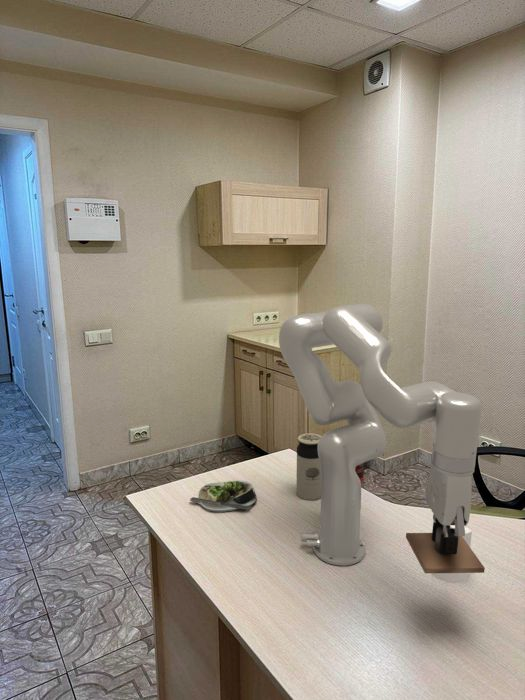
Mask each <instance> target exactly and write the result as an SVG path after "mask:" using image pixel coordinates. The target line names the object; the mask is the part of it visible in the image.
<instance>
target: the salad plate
mask: <svg viewBox="0 0 525 700" xmlns="http://www.w3.org/2000/svg"><path fill="white" fill-rule="evenodd" d="M198 494H199V497H194V496H193V497H190V499H189V501H190V502H192V503H196V504H199V505H200V506H201V507H202V508H204V509H206V510H208V511H211V512H217V513H222V512H223V513H225V512H238V511H246V510H250V509H252V507H253V506H254V505H255V504H256V503H257V501H258V499H257V494H256V491H255V488H254V486H253V484H252V483H251V482H248V481H247V480H229V481H222V482H220V481H219V482H210V483H207V484H205V485H203V486H202V487H201V488H200V489H199V493H198Z"/></svg>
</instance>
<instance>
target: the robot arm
mask: <svg viewBox="0 0 525 700" xmlns="http://www.w3.org/2000/svg"><path fill="white" fill-rule="evenodd" d="M382 329H383V318H382V315H381V313H380V311H379V310H378V309H377V308H376V307H374V306H373V305H371V304H367V303H356V304H347V305H339V306H335V307H333V308H330V309H329V310H328V311H322V312H321V311H320V312H311V313H302V314H297V315H293V316H291V317H289V318H288V319H286V320H285V321H284V322H283V323H282V324H281V326H280V327H279V332H278V333H279V334H278V345H279V349H280V353H281V356H282V357H283V360H284V361H285V363H286V364H287V366H288V368H289V370H290V371H291V373H292V374H293V377H294V378H295V382H296V383H297V384H296V385H297V386H298V390H299V392H300V394H301V397H302V399H303V401H304V404H305V406H306V409H307V412H308V414H309V416H310V418H311V419H312V421H313V422H314V423H315V424H317V425H318V426H328V425H332V424H336V423H340V422H343V421H347V423H348V424H346V425H342V426H338V427H336V428H332V429H330V430H329V431H327V432H325V433H323V435H321V436H322V437H321V438H320V440H319V442H318V456H319V461H320V468H321V497H320V516H319V517H320V522H319V523H320V524H319V527H317V530H316V531H313V533H308V532H303V533H300V540H301V542H306V545H307V546H306V547H312V548H313V552H314V554H315V555H316V556H317V557H318V558H319V559H320V560H322V561H323V562H325V563H328V564H330V565H335V566H343V567H344V566H352V565H354V564H355V565H356V564H358V563H359V562H361V561H362V560H363V559H364V557H365V556H366V546H365V543H364V542H363V541H362V540H361V539H360V534H361V533H360V529H361V528H360V527H361V511H362V510H361V507H362V506H361V505H362V484H361V482H360V479H359V477H358V475H357V474H356V472H355V467H356V466H357V465H360V464H362V463H364V464H365V463H366V462H367V463H368V462H370V461H372V460H375V459H377V458H379V457H381V456H382V455H383V454H384V453H385V451H386V449H387V436H386V433H385V430H384V427H383V425H382V422H381V421H380V418H379V416H378V414H379V415H380V416H381V417H382V419H384V420H385V421H387V423H389V424H390V425H392V426H394V427H396V428H397V429H398V428H399V429H410V428H414V427H417V426H420V425H424V424H426V423H432V422H433V423H434V431H433V440H432V441H433V442H432V443H433V444H432V453H431V462H430V467H429V472H428V477H427V484H426V490H425V491H426V492H425V501H426V503H427V505H428V507H429V509H430V510H431V512H432V519H433V523H432V532H431V533H432V540H433V542H435V540H436V530H437V528H438V527H443V534H441V538H440V547H439V552H440V554H442V555H447V554H456V553H457V547H458V538H459V537H460V536H465V528H464V526H465V527H467V526H468V523H469V521H470V516H471V510H472V509H471V507H472V492H473V491H472V489H473V487H472V486H473V485H472V484H473V481H472V474H474V473H475V468H476V459H477V451H478V450H477V449H478V443H479V435H480V426H481V419H482V418H481V417H482V411H483V409H482V403H481V400H480V399H479V398H477V397H476V396H474V395H472V394H469V393H464V392H460V391H459V392H458V391H455V390H454V389H452V388H450V387H448V386H446V385H445V384H443V383H440V382H438V381H432V380H430V381H424V382H421V383H416V384H411V385H407V386H403V387H400V386H399V385H397V384H396V383H395V382H394V381H393V379H391V378H390V377H389V376H388V375H387V373H386V372H385V370H384V369H383V368H382V367H383V366H385V364H386V363H387V361H388V360H389V358H390V356H391V354H392V345H391V343H390V341H389V340H388V339H387V338H385V337H384V336H383V335H382V334H381V332H382ZM327 346H335V347H336V348H337V349H338V350H339V351H340V352H342V354H343V355H344V356H345V357H346V358H347V359H348V360H349V361H350V362H351V363H352V364H353V365H354V366H355V367H357V369H358V370H359V382H360V383H359V382H357V381H354V380H346V379H345V380H341V381H335V380H334V378H333V375H332V374H331V372H330V369H329V367H328V365H327V363H326V362H325V360H323V359H322V358H321V357H320V356H319V355H318V354H317V353H315V352H314V351H313V349H314V348H320V347H327ZM377 413H378V414H377ZM450 525H455V528H450ZM449 528H450V529H449Z"/></svg>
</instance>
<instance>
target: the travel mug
mask: <svg viewBox="0 0 525 700" xmlns="http://www.w3.org/2000/svg"><path fill="white" fill-rule="evenodd" d="M322 436H323V435H320V434H316V433H303V434H300V435H299V436H298V437H297V441H298V445H297V447H296V484H295V486H296V488H295V489H296V490H295V491H296V492H295V493H296V496H298V497H299V498H301V499H304V500H308V501H314V500H317V499H321V468H320V461H319V456H318V442H319V440H320V438H321V437H322Z"/></svg>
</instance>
